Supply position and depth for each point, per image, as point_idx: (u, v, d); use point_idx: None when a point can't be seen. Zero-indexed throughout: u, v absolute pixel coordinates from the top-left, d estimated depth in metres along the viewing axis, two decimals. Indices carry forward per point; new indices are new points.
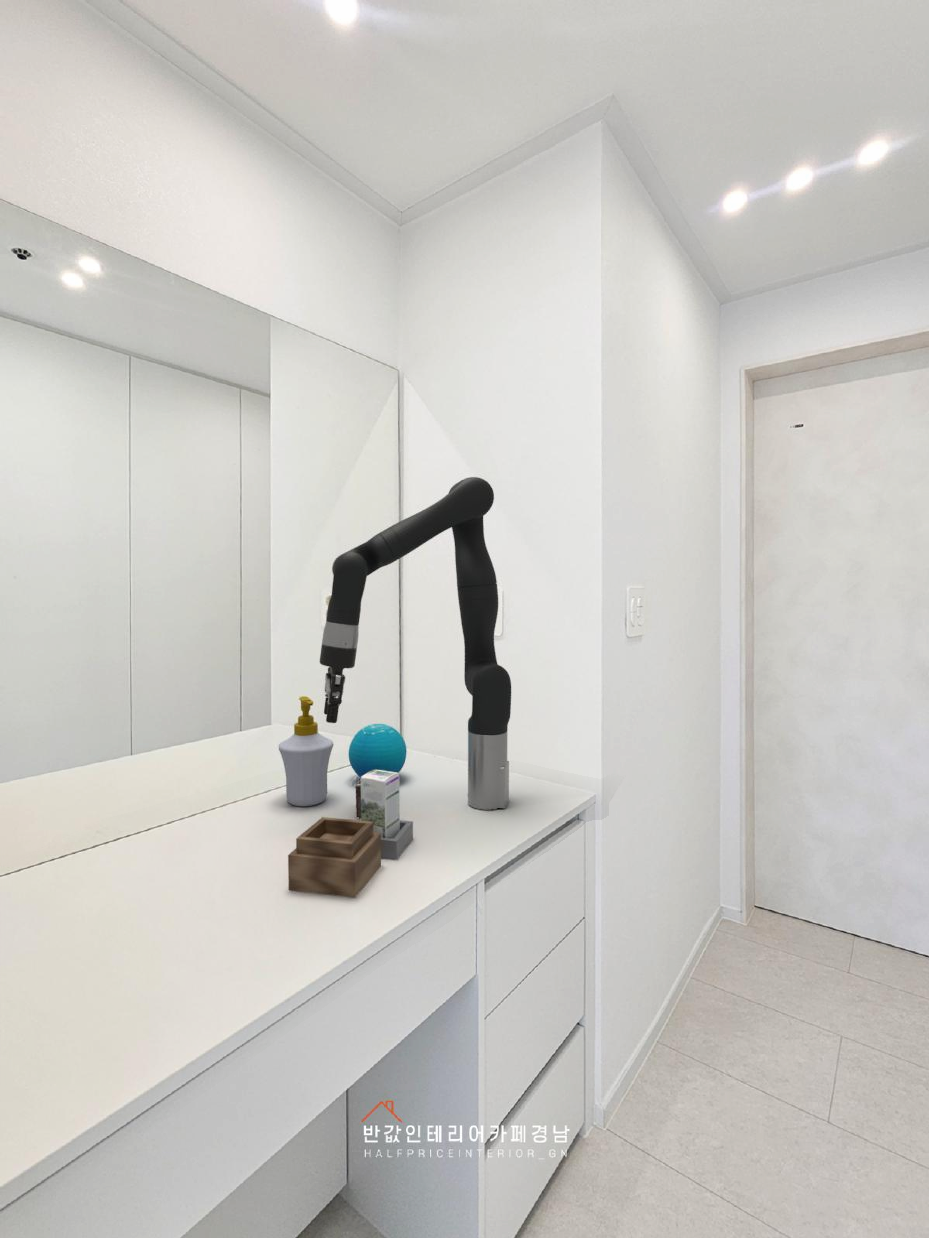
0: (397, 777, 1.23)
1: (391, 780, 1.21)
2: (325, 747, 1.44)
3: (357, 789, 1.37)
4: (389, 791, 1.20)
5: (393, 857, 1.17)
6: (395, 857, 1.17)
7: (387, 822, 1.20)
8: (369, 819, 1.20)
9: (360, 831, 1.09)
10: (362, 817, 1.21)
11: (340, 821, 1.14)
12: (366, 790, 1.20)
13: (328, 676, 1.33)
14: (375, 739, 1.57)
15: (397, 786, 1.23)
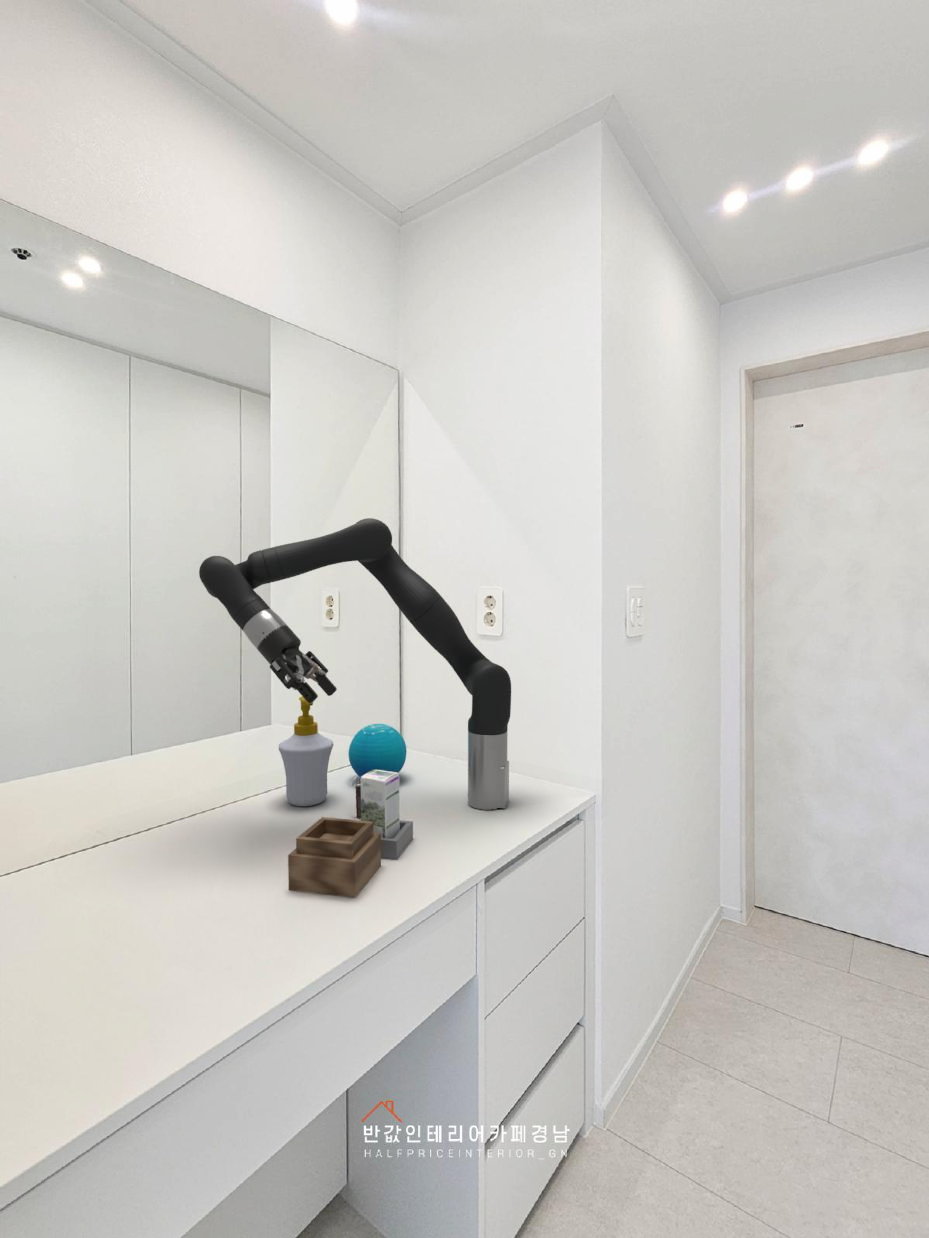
0: (397, 777, 1.23)
1: (391, 780, 1.21)
2: (325, 747, 1.44)
3: (357, 789, 1.37)
4: (389, 791, 1.20)
5: (393, 857, 1.17)
6: (395, 857, 1.17)
7: (387, 822, 1.20)
8: (369, 819, 1.20)
9: (360, 831, 1.09)
10: (362, 817, 1.21)
11: (340, 821, 1.14)
12: (366, 790, 1.20)
13: None
14: (375, 739, 1.57)
15: (397, 786, 1.23)
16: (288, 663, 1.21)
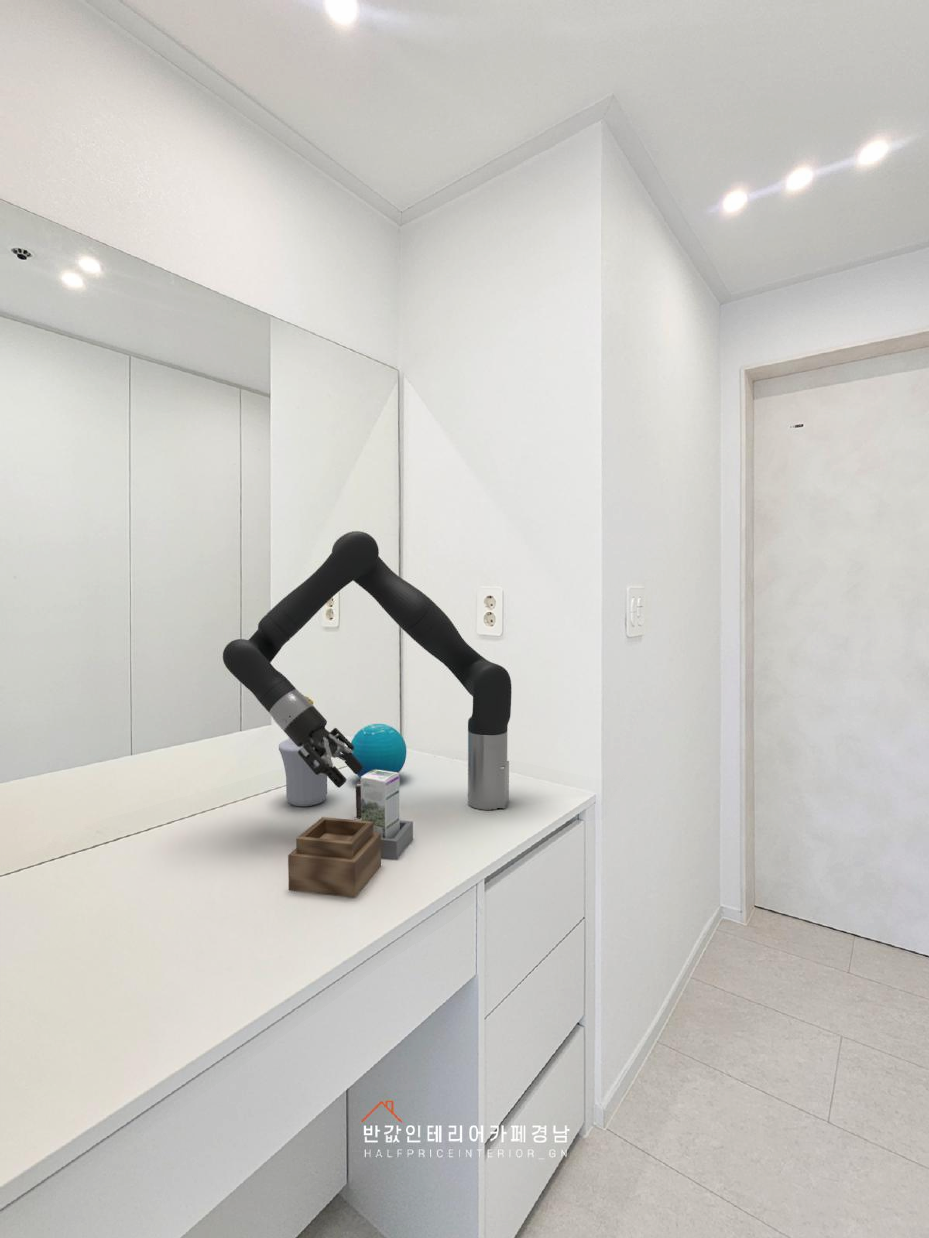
0: (397, 777, 1.23)
1: (391, 780, 1.21)
2: None
3: (357, 789, 1.37)
4: (389, 791, 1.20)
5: (393, 857, 1.17)
6: (395, 857, 1.17)
7: (387, 822, 1.20)
8: (369, 819, 1.20)
9: (360, 831, 1.09)
10: (362, 817, 1.21)
11: (340, 821, 1.14)
12: (366, 790, 1.20)
13: None
14: (375, 739, 1.57)
15: (397, 786, 1.23)
16: (316, 747, 1.21)
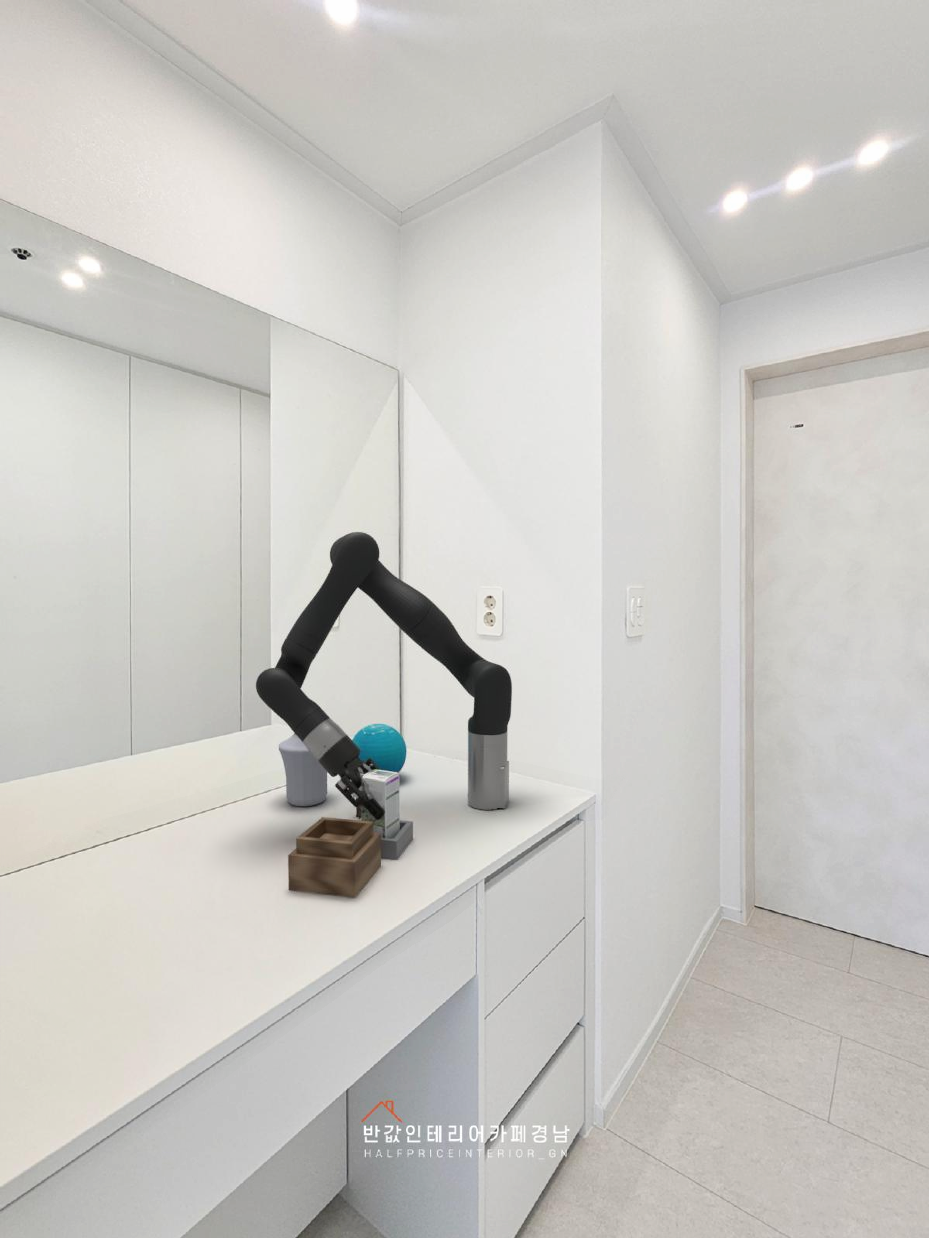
0: (397, 777, 1.23)
1: (391, 780, 1.21)
2: None
3: None
4: (389, 791, 1.20)
5: (393, 857, 1.17)
6: (395, 857, 1.17)
7: (387, 822, 1.20)
8: (369, 819, 1.20)
9: (360, 831, 1.09)
10: (362, 817, 1.21)
11: (340, 821, 1.14)
12: None
13: None
14: (375, 739, 1.57)
15: (397, 786, 1.23)
16: (352, 778, 1.20)
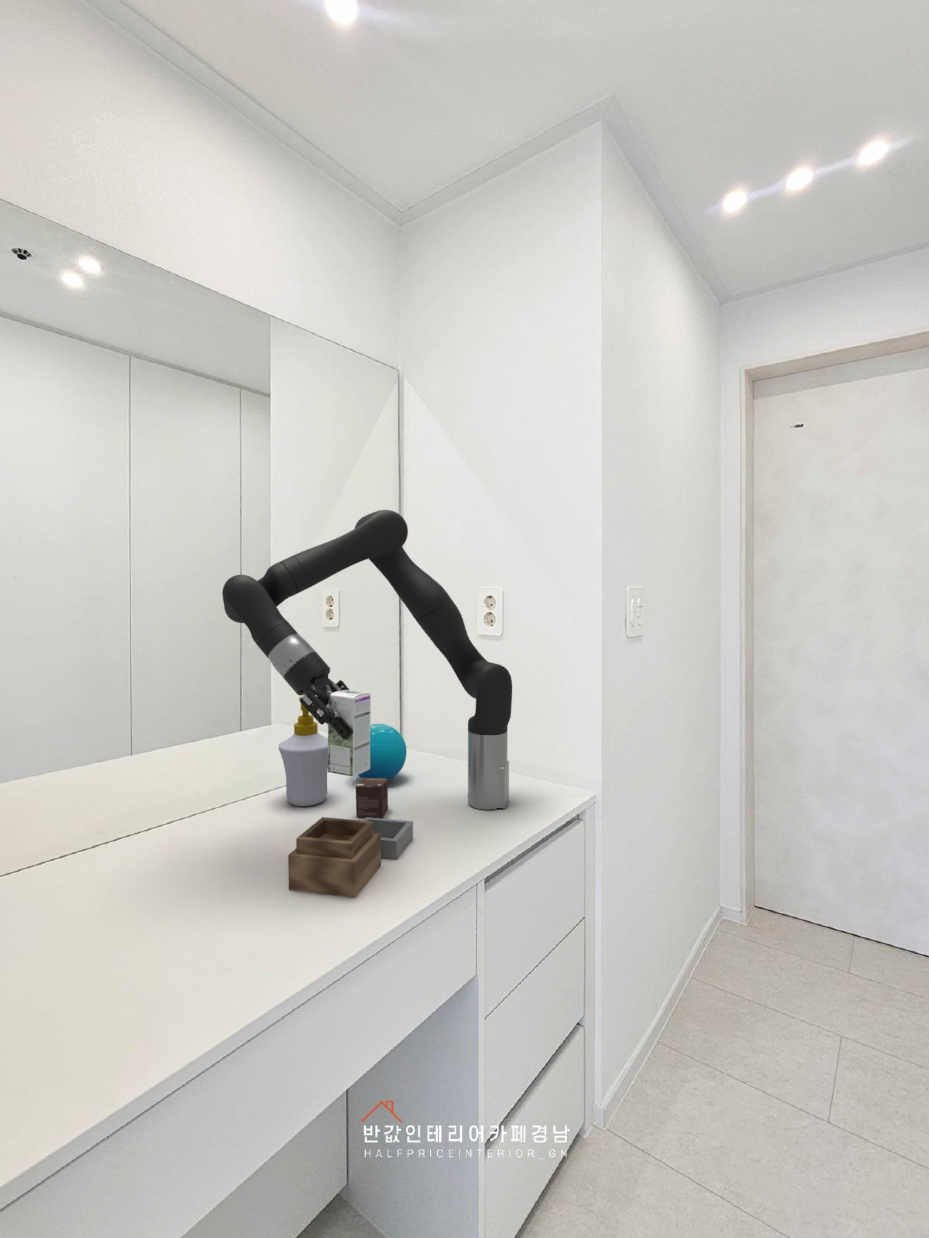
0: (368, 697, 1.14)
1: (361, 698, 1.12)
2: (325, 747, 1.44)
3: (357, 789, 1.37)
4: (358, 710, 1.11)
5: (393, 857, 1.17)
6: (395, 857, 1.17)
7: (355, 743, 1.11)
8: (336, 740, 1.12)
9: (360, 831, 1.09)
10: (329, 738, 1.12)
11: (340, 821, 1.14)
12: None
13: None
14: (375, 739, 1.57)
15: (368, 707, 1.14)
16: (318, 694, 1.11)
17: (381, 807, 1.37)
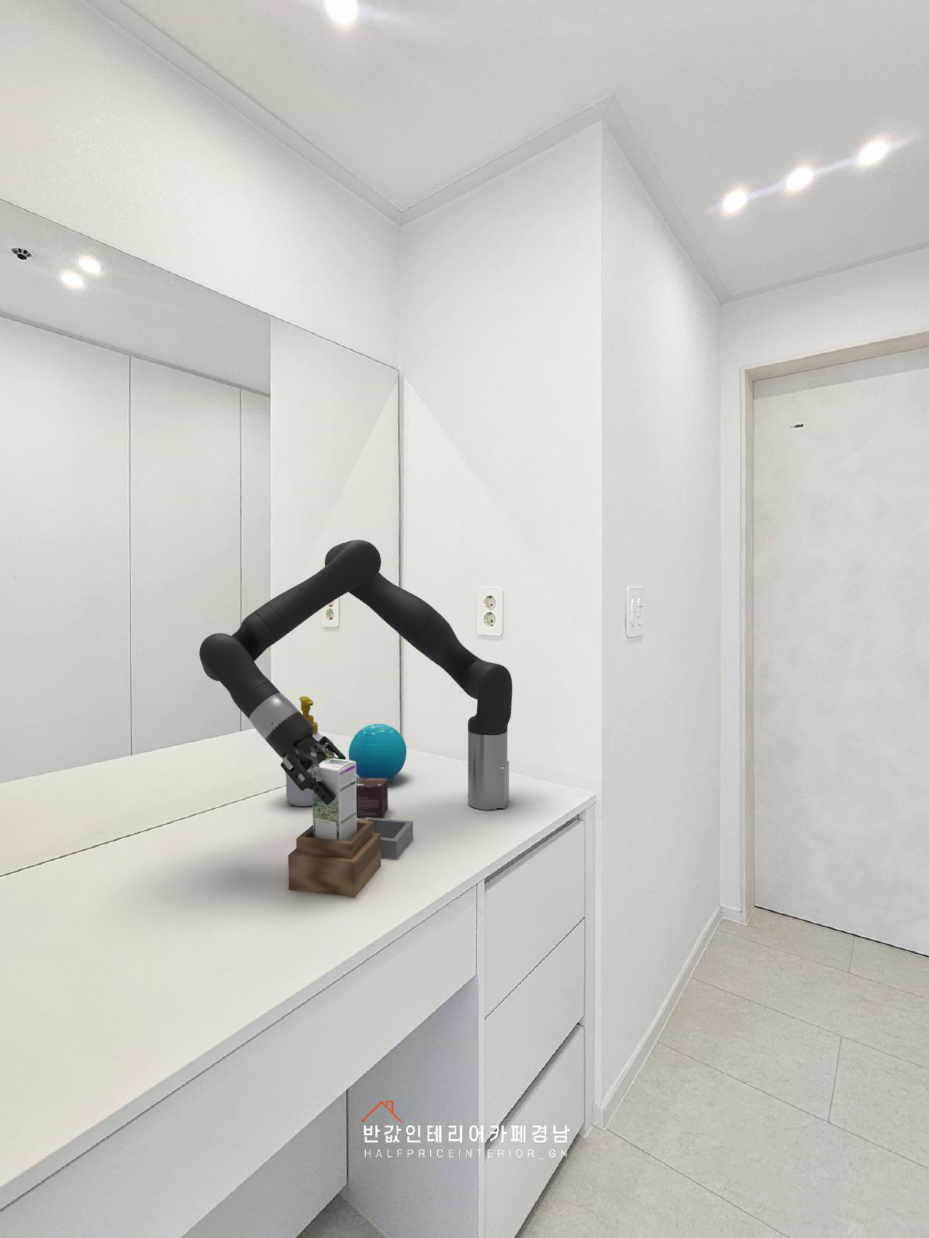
0: (353, 766, 1.10)
1: (346, 769, 1.07)
2: None
3: (357, 789, 1.37)
4: (343, 782, 1.07)
5: (393, 857, 1.17)
6: (395, 857, 1.17)
7: (341, 816, 1.06)
8: (321, 813, 1.07)
9: (360, 831, 1.09)
10: (314, 811, 1.08)
11: None
12: None
13: None
14: (375, 739, 1.57)
15: (353, 776, 1.10)
16: (301, 758, 1.06)
17: (381, 807, 1.37)
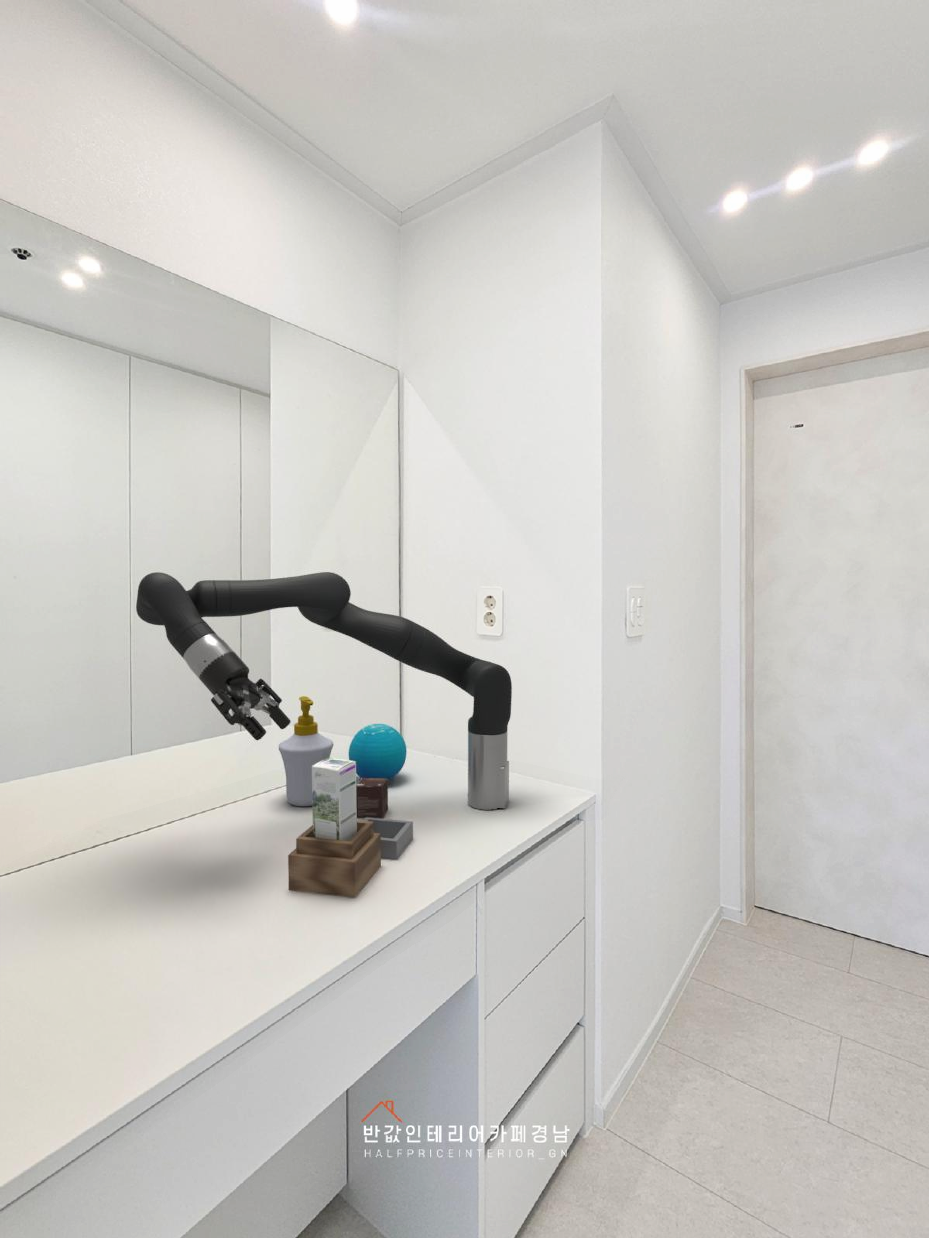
0: (353, 766, 1.10)
1: (346, 769, 1.07)
2: (325, 747, 1.44)
3: (357, 789, 1.37)
4: (343, 782, 1.07)
5: (393, 857, 1.17)
6: (395, 857, 1.17)
7: (341, 816, 1.06)
8: (321, 813, 1.07)
9: (360, 831, 1.09)
10: (314, 811, 1.08)
11: None
12: (318, 780, 1.07)
13: None
14: (375, 739, 1.57)
15: (353, 776, 1.10)
16: (233, 695, 1.08)
17: (381, 807, 1.37)
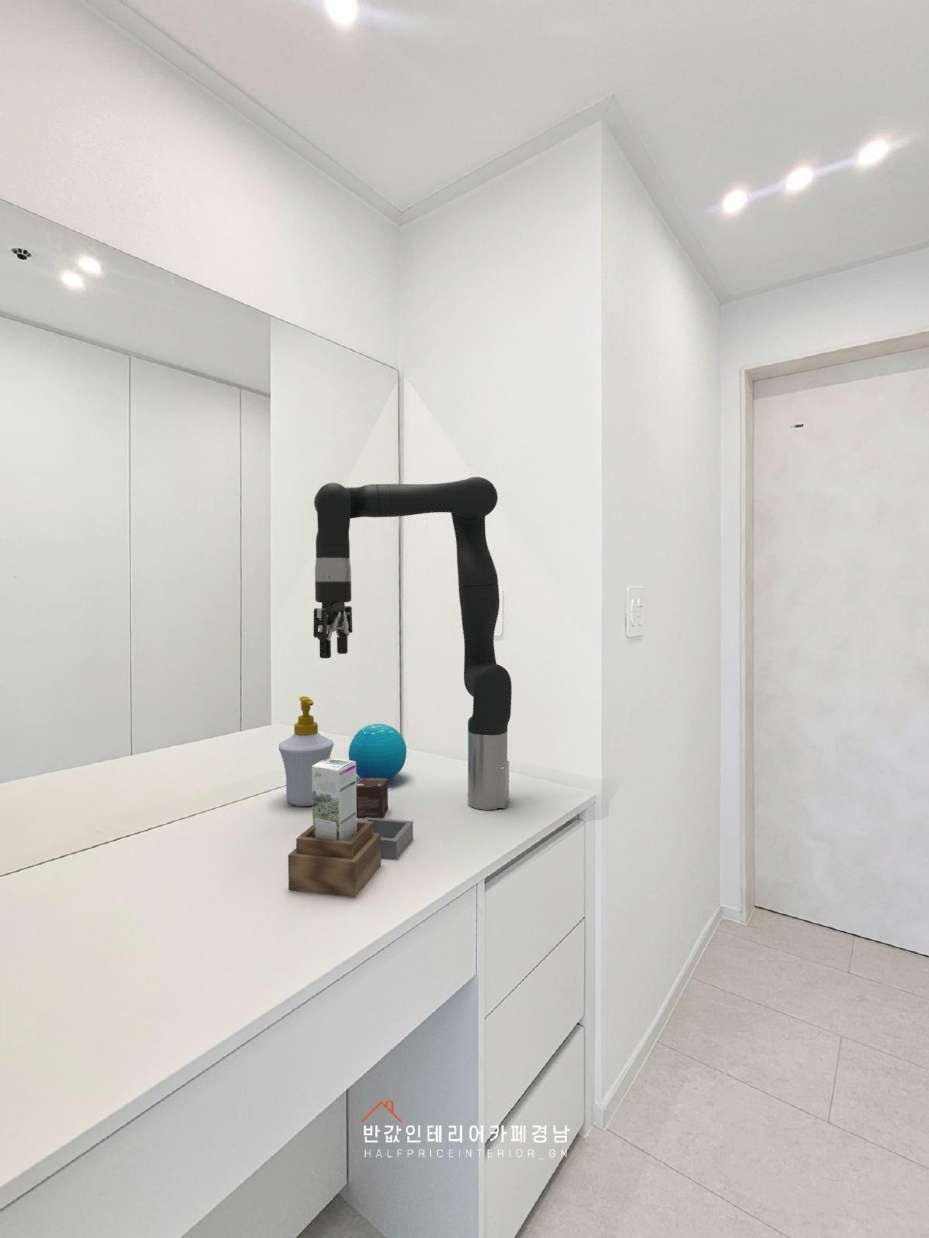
0: (353, 766, 1.10)
1: (346, 769, 1.07)
2: (325, 747, 1.44)
3: (357, 789, 1.37)
4: (343, 782, 1.07)
5: (393, 857, 1.17)
6: (395, 857, 1.17)
7: (341, 816, 1.06)
8: (321, 813, 1.07)
9: (360, 831, 1.09)
10: (314, 811, 1.08)
11: None
12: (318, 780, 1.07)
13: None
14: (375, 739, 1.57)
15: (353, 776, 1.10)
16: (329, 615, 1.29)
17: (381, 807, 1.37)
